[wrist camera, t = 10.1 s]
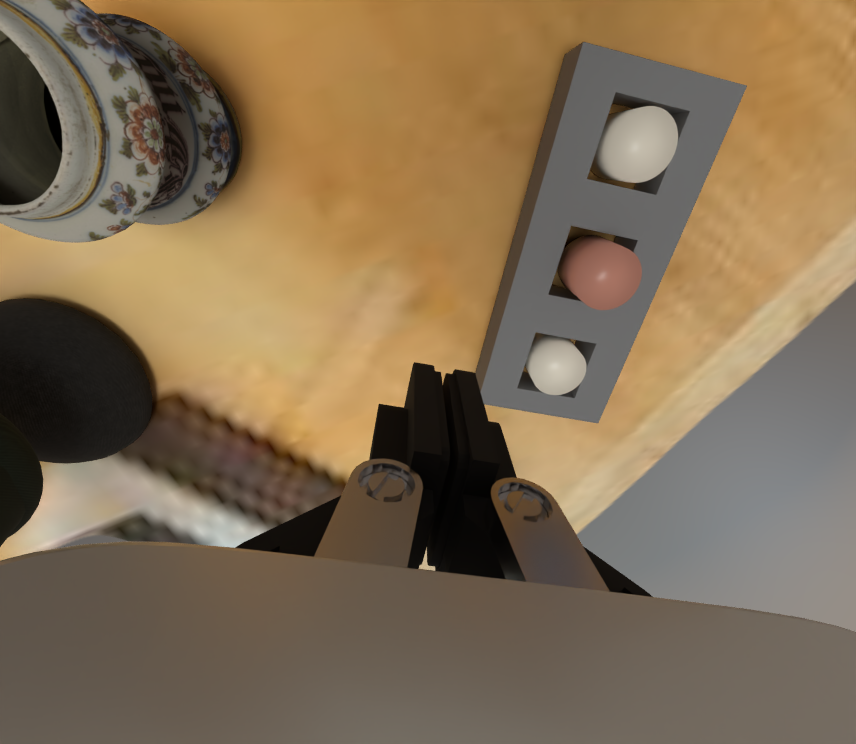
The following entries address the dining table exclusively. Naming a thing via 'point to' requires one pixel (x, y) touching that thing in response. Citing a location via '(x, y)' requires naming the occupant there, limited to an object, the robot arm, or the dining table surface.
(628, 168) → the near knob
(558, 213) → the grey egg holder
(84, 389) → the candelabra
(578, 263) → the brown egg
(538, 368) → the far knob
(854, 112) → the dining table surface
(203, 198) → the apothecary jar
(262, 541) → the robot arm
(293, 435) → the dining table surface
